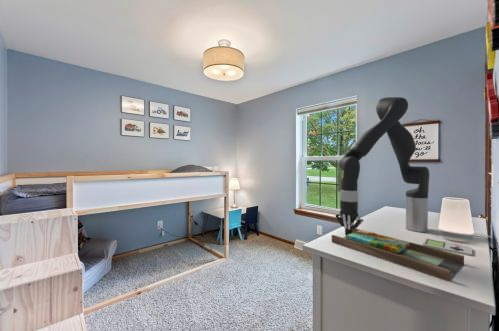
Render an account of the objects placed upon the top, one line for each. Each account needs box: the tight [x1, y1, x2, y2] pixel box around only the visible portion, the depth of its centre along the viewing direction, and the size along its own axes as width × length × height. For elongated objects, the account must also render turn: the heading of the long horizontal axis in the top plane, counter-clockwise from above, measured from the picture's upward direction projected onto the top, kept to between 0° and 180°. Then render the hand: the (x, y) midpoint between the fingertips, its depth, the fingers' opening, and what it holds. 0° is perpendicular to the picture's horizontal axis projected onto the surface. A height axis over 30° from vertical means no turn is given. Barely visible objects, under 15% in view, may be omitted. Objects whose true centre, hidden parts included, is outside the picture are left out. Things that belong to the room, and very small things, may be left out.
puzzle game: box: [345, 229, 411, 253], centre depth 91 cm, size 12×5×20 cm
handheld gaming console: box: [421, 237, 473, 257], centre depth 92 cm, size 10×2×15 cm
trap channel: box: [331, 228, 465, 282], centre depth 87 cm, size 18×40×3 cm, turn 35°
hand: (348, 236), depth 102 cm, fingers closed
